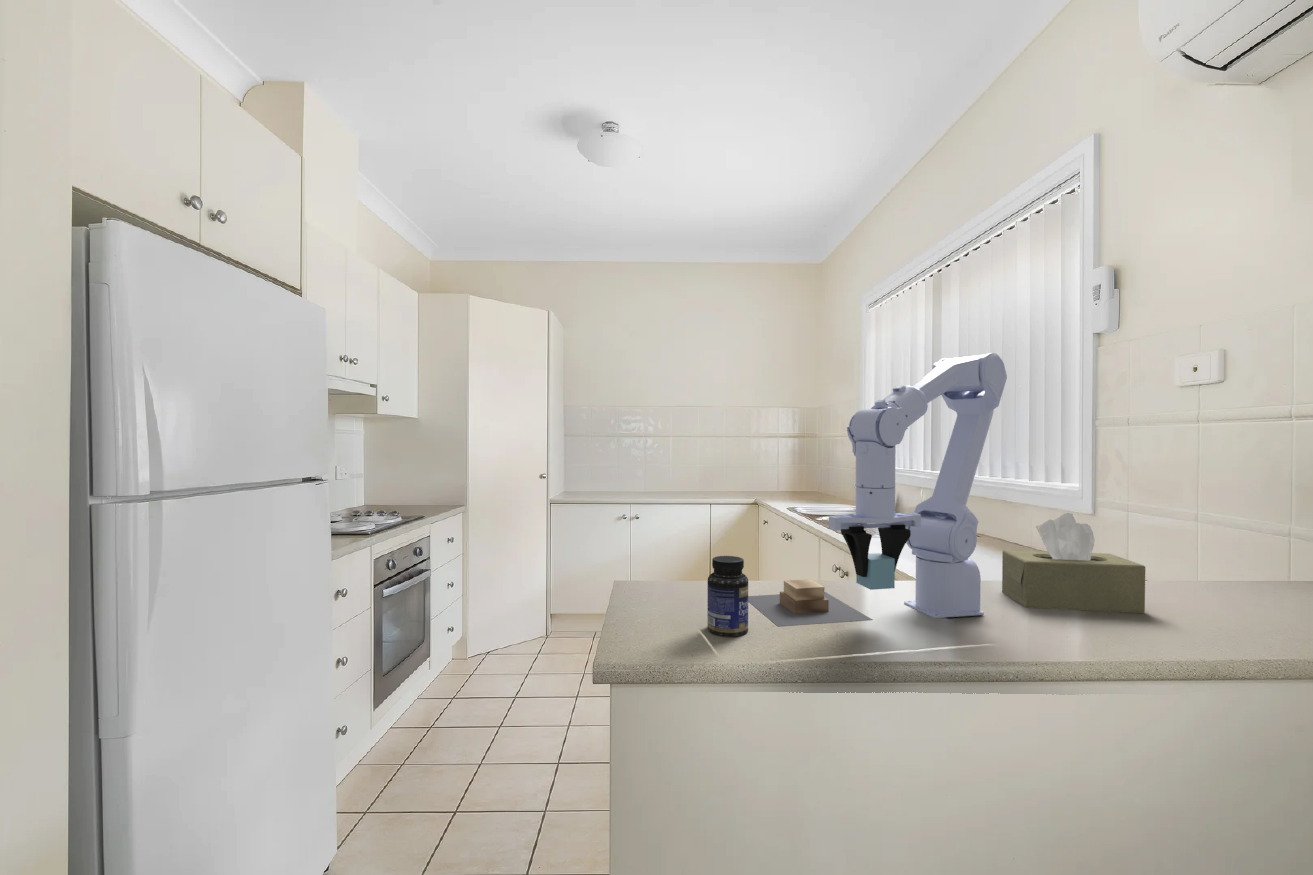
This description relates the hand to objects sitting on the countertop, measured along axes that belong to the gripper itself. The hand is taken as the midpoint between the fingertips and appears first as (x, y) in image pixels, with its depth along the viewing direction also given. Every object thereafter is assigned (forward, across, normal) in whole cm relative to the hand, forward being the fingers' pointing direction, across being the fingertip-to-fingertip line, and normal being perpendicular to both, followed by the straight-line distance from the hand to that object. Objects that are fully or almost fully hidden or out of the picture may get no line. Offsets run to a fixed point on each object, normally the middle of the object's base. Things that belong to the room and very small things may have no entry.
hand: (875, 574), depth 90 cm
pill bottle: (+8, +23, -2) cm, 25 cm away
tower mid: (+6, +7, -10) cm, 14 cm away
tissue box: (+9, -41, -5) cm, 42 cm away
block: (+2, 0, 0) cm, 2 cm away
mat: (+8, +7, -10) cm, 15 cm away
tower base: (+8, +7, -10) cm, 14 cm away
